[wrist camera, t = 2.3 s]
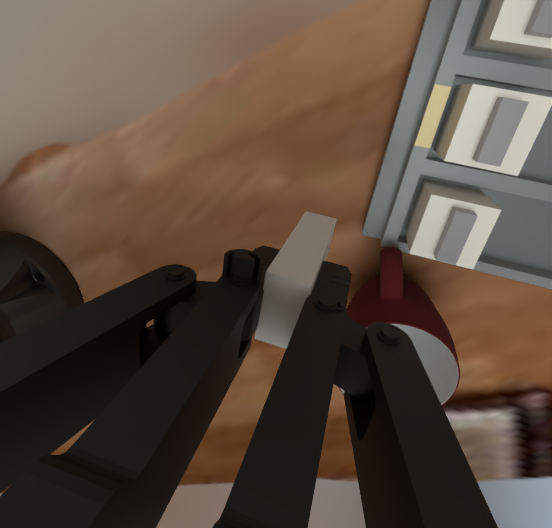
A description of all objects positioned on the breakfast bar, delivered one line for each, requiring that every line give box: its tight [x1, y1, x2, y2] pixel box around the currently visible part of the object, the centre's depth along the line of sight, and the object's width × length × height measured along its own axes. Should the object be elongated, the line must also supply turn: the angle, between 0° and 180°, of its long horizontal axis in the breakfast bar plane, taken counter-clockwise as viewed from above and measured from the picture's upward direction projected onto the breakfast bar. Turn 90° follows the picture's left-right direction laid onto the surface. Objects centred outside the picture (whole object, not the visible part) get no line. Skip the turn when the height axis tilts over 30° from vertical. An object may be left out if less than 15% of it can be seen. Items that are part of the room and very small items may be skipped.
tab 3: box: [405, 179, 501, 269], centre depth 24 cm, size 4×4×6 cm
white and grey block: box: [470, 0, 552, 60], centre depth 18 cm, size 4×4×6 cm
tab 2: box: [434, 84, 552, 176], centre depth 21 cm, size 4×4×6 cm
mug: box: [339, 247, 460, 405], centre depth 27 cm, size 11×8×10 cm
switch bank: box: [362, 0, 552, 289], centre depth 23 cm, size 18×18×4 cm
